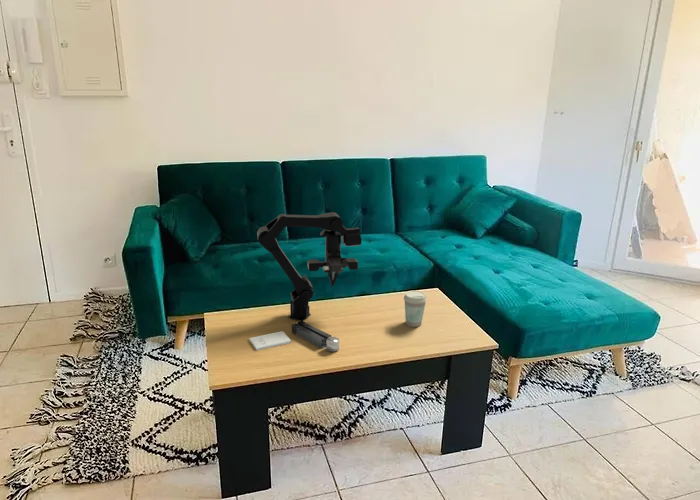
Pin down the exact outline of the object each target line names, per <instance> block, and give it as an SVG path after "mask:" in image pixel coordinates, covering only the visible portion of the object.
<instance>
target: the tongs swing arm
mask: <svg viewBox="0 0 700 500" xmlns="http://www.w3.org/2000/svg"><path fill="white" fill-rule="evenodd" d="M296 324H298V325H300V326H302V327H304V328H306V329H308V330H310V331H312V332H314V333H316V334H318V335H319V336H321V337H323V338H325V350H326V351H328V352H337V351H338V350H340V338H338V337H337V336H332V335H331V334H329V333H327V332H325V331H323V330H321V329H318V328H317V327H315V326H313V325H310V324H308V323H307V322H306V321H305V320H303V321H302V320H297V322H296Z"/></svg>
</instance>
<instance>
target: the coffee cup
mask: <svg viewBox="0 0 700 500" xmlns="http://www.w3.org/2000/svg"><path fill="white" fill-rule="evenodd" d="M403 301H404V311H405V315H404V316H405V317H404V318H405V324H406V326H408V327H411V328H418V327H420V326H421V325H422V323H423V322H422V321H423V318H424V313H425V312H424V311H425V307H426V302H427V301H428V299H427V296H426V294H425V292H423V291H420V290H409V291H406V293H405V294H404V297H403Z"/></svg>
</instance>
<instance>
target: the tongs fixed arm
mask: <svg viewBox="0 0 700 500" xmlns="http://www.w3.org/2000/svg"><path fill="white" fill-rule="evenodd" d="M291 333H292V334H294V335H295V336H297V337H299V338H301V339H303V340H304V341H306V342H308V343H310V344H312V345H314V346H315V347H317V348H320V349H324V348H326V343H325V338H323V337H321V336H319V335H318V334H316V333H314V332H312V331H310V330H308V329H306V328H304V327H302V326H300V325H298V324H297V322H296V323H293V324H291Z"/></svg>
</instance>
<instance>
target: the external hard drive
mask: <svg viewBox="0 0 700 500" xmlns="http://www.w3.org/2000/svg"><path fill="white" fill-rule="evenodd" d="M248 341H249V343H251V345H252V346H253V348H254V350H256V351H261V350H265V349H270V348H271V349H272V348H274V347H278V346H283V345H289V344H291V343H292V340H291V339H290V337H289V336H288V335H287V334H286V333H285V332H284V331H283V330H281V331H277V332H273V333H268V334H263V335H258V336H254V337H248Z"/></svg>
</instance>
